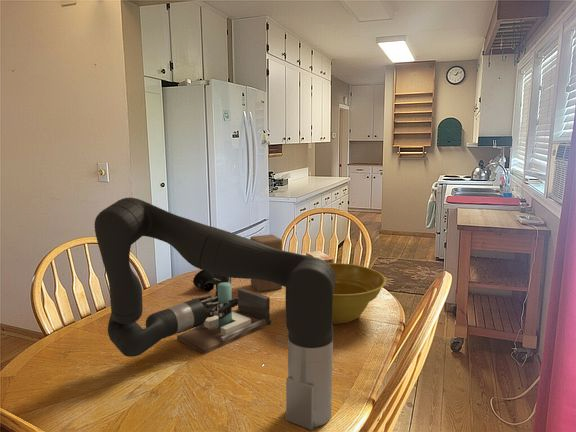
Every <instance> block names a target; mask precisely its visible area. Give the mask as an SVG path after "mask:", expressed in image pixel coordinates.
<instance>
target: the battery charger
mask: <svg viewBox="0 0 576 432" xmlns="http://www.w3.org/2000/svg"><path fill="white" fill-rule="evenodd" d="M223 282H228V283H231V284H232V278H230V277H224V276H220V275H216V274H212V283H213V284H215V285H214V286H215V296H214V297H218V284H219V283H223Z"/></svg>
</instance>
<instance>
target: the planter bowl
mask: <svg viewBox="0 0 576 432" xmlns="http://www.w3.org/2000/svg"><path fill="white" fill-rule="evenodd" d="M328 264H329V265H330V266H331V268H332V269H333V271H334V273H335V277H336V282H335V287H334V291H333V311H332V324H335V325H336V324H337V325H338V324H346V323H350V322H353V321H355V320H356V319H358V318H359V317H361V315H362V314H363V312H364V311H365V310H366V308H367V306H368V305H369V303H370V302H372V301H373V300H375V299H376V298H377V297H378V295H379V294H380V291H381V290H382V288H383V287H385V286H386V284H387V278H386V277H385V276H384V275H383V273H381V272H380V271H377V270H375V269H373V268H370V267H368V266H367V267H366V266H363V265H358V264H352V263H351V264H350V263H341V262H339V263H338V262H334V263H328Z"/></svg>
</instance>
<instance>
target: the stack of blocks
mask: <svg viewBox="0 0 576 432" xmlns="http://www.w3.org/2000/svg"><path fill="white" fill-rule="evenodd" d="M300 254H301V255H306V256H311V257H316V258H319V259H321V260H323V261H325V262H326V263H335V262H334V260H335V259H334V258H333V257H331V256H330V255H328V254H326V253H324V252H321V251H320V250H317V251H315V250H314V251H307V252H304V253H300Z"/></svg>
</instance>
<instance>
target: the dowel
mask: <svg viewBox="0 0 576 432" xmlns="http://www.w3.org/2000/svg"><path fill="white" fill-rule="evenodd" d="M232 291H233V290H232V282H231V283H228V282H223V283H219V284H218V301H220V302H226V301H229V300H231V299H233V298H232V295H233V293H232ZM224 306H225V305H223V306H222V307H224ZM232 311H233V307H232V308H231V313H230V314H228V315H227V316H226V317H224V318H223V319H219V328H221V327H223V326H225V325H227V324H230V323H232Z"/></svg>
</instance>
